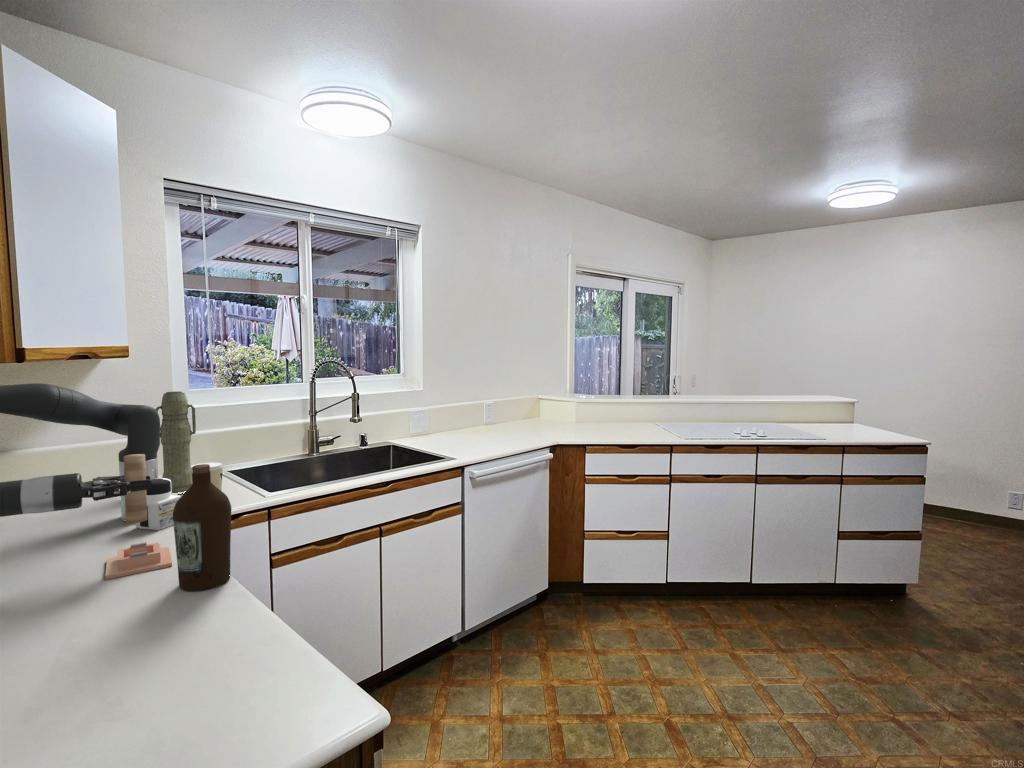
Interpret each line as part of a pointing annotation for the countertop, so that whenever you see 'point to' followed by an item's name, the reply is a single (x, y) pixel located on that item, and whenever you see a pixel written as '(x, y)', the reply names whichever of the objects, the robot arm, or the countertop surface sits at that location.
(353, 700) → the countertop surface
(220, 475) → the coffee cup
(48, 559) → the countertop surface
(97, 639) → the countertop surface
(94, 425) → the robot arm
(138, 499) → the tall wooden cylinder
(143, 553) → the clip base
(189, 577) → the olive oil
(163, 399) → the thermos
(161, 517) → the container
